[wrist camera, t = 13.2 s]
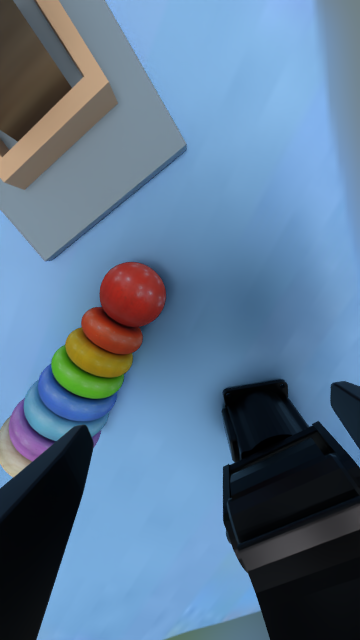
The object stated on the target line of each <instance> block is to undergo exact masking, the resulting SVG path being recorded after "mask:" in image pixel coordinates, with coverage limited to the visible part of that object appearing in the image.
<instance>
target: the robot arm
mask: <svg viewBox="0 0 360 640" xmlns="http://www.w3.org/2000/svg"><path fill="white" fill-rule="evenodd" d="M281 384H283V385H282V386H280V385H281ZM227 393H230V394H229V395H226V394H227ZM223 397H224V403H225V408H223V409H222V416H223V422H224V428H225V432H226V436H227V440H228V444H229V448H230V452H231V456H232V460H233V461H234V462H235V463H233V464H231V465H229V464H228V465H226V466H224V467H223V522H224V525H225V528H226V536H227V539H228V541H229V543H230V544H232V547H233V549H234V552H235V554H236V556H237V558H238V560H239V562H240V564H241V565H242V567H243V568H244V570H245V571H246V572H247V573H248V574H249V577H250V579H251V582H252V585H253V587H254V590H255V593H256V596H257V599H258V602H259V605H260V608H261V611H262V614H263V618H264V621H265V624H266V627H267V631H268V634H269V637H270V640H360V468H359V466H358V465H357V464H356V463H355V461H354V460H353V459H352V458H351V457H350V455H349V454H348V453H347V452H346V451H345V450H344V449H343V448H342V446H341V445H340V444H339V443H338V442H337V441H336V440H335V439H334V438H333V437H332V435H331V434H330V433H329V432H328V431H327V430H326V429H325V428H324V427H323V425H322V424H321V423H320V422H319V421H317V422H315V423H313V424H312V426H310V427H309V426H308V425H307V423H306V422H305V420H304V419H303V418H302V416H301V415H300V414H299V412H298V411H297V409H296V408H295V407H294V405H293V404H292V402H291V401H290V400H289V398H288V385H287V383H286V382H285V381H284V380H276V381H270V382H264V383H258V384H252V385H246V386H241V387H235V388H229V389H225V390H224V391H223ZM330 401H331V406H332V408H333V410H334V412H335V413H336V415H337V416H338V418H339V419H340V421H341V422H342V424H343V425H344V427H345V428H346V430H347V431H348V433H349V434H350V436H351V437H352V439H353V440H354V442H355V443H356V445H357V446H358V448H359V449H360V386H357V385H354V384H352V383H349V382H346V381H341V382H335V383H332V384H331V400H330ZM93 447H94V442H93V439H92V436H91V434H90V432H89V429H88V427H87V426H86V425H78V426H74V427H73V428H71V429H70V430H69V431H68V432H67V433H66V434H64V435H63V436H62V437H61V438H60V439H58V440H57V441H56V442H55V443H54V444H52V445H51V446H50V447H49V448H48V449H47V450H45V451H44V452H43V453H42V454H41V455H39V456H38V457H37V458H36V459H35V460H34V461H32V462H31V463H30V464H29V465H28V466H26V467H25V468H24V469H23V470H22V471H20V472H19V473H18V474H17V475H16V476H15V477H13V478H12V479H11V480H10V481H9V482H7V483H6V484H5V485H4V486H3V487H2V488H0V640H36V639H37V636H38V633H39V630H40V627H41V623H42V620H43V617H44V614H45V611H46V608H47V605H48V602H49V598H50V595H51V592H52V589H53V586H54V583H55V580H56V577H57V573H58V570H59V567H60V564H61V561H62V558H63V555H64V552H65V548H66V545H67V542H68V539H69V536H70V533H71V530H72V527H73V523H74V520H75V517H76V514H77V511H78V508H79V505H80V502H81V498H82V495H83V491H84V487H85V483H86V479H87V474H88V470H89V465H90V461H91V456H92V452H93Z"/></svg>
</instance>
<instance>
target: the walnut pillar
mask: <svg viewBox="0 0 360 640" xmlns="http://www.w3.org/2000/svg"><path fill="white" fill-rule="evenodd" d="M71 89H72V87H71V86H70V84H69V83H68V81H67V80H66V78H65V77H64V75H63V74H62V72H61V71H60V69H59V68H58V66H57V65H56V63H55V62H54V61H53V59H52V58H51V56H50V55H49V53H48V52H47V50H46V49H45V47H44V46H43V44H42V43H41V41H40V40H39V38H38V37H37V35H36V34H35V32H34V31H33V29H32V28H31V26H30V25H29V23H28V22H27V20H26V19H25V17H24V16H23V14H22V13H21V11H20V10H19V9H18V7H17V6H16V4H15V3H14V1H13V0H0V130H1V131H2V132H4V133H5V134H7V135H8V136H10V137H12V138H13V139H15V140H16V141H19V140H20V139H21V138H22V137H23V136H24V135H25V134H27V133H28V132H29V131H30V130H31V129H32V128H33V127H34V126H35V125H36V124H37V123H38V122H39V121H40V120H41V119H42V118H43V117H44V116H45V115H46V114H47V113H48V112H49V111H50V110H51V109H52V108H53V107H54V106H55V105H56V104H57V103H58V102H59V101H60V100H61V99H62V98H63V97H64V96H65V95H66V94H67V93H68V92H69V91H70V90H71Z"/></svg>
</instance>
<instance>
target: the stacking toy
mask: <svg viewBox="0 0 360 640" xmlns="http://www.w3.org/2000/svg"><path fill="white" fill-rule="evenodd" d="M165 300H166V290H165V286H164V283H163V281H162V279H161V278H160V276H159V275H158V274H157V273H156V272H155V271H154V270H152V269H151V268H150V267H148V266H146V265H144V264H141V263H136V262H127V263H122V264H119V265H117V266H115V267H114V268H112V269H111V270H110V271H109V272H108V273H107V274H106V275H105V277H104V279H103V281H102V284H101V287H100V302H101V305H102V307H95V308H92V309H90V310H88V311H87V312H86V313H85V314H84V315H83V317H82V322H81V325H82V327H81V328H78V329H76V330H74V331H72V332H71V333H70V334H69V336H68V338H67V340H66V344H65V345H64V346H62V347H60V348H59V349H58V350H57V351H56V352H55V354H54V356H53V358H52V362H51V364H50V365H49V366H47V367H46V368H45V369H44V371H43V372H42V373H41V375H40V378H39V380H38V381H36V382H35V383H34V384H33V385H32V386H31V387H30V389H29V390H28V392H27V394H26V396H25V398H24V399H23V400H22V401H21V402H20V403H19V404H18V405H17V406H16V407H15V409H14V411H13V413H12V415H11V416H10V417H9V418H8V419H7V420H6V421H5V423H4V424H3V426H2V427H1V429H0V464H1V466H2V467H3V469H4V470H5V471H6V472H7V473H8V474H9V475H10V476H12V477H15V476H16V475H17V474H18V473H19V472H20V471H22V470H23V469H24V468H25V467H26V466H28V465H29V464H30V463H31V462H32V461H34V460H35V459H36V458H37V457H38V456H39V455H41V454H42V453H43V452H44V451H45V450H47V449H48V448H49V447H50V446H51V445H52V444H54V443H55V442H56V441H57V440H58V439H60V438H61V437H62V436H63V435H64V434H66V433H67V432H68V431H69V430H70V429H71V428H73V427H74V426H78V425H86V426H87V427H88V429H89V432H90V434H91V436H92V439H93V442H94V446H95V445H96V443H97V442H98V440H99V437H100V434H101V429H102V428H103V427H104V425H105V423H106V421H107V419H108V415H109V411H110V410H111V409H112V407H113V406H114V404H115V401H116V398H117V391H118V390H119V388H120V387H121V385H122V383H123V380H124V373H126V372H127V371H128V370H129V369H130V367H131V365H132V362H133V355H132V353H133V352H135V351H136V350H137V349H138V348H139V347H140V346H141V344H142V340H143V335H142V332H141V330H140V328H139V327H140V326H144V325H147V324H149V323H150V322H152V321H153V320H155V319H156V318H157V317H158V316H159V314H160V313H161V311H162V309H163V307H164V305H165ZM93 448H94V447H93Z"/></svg>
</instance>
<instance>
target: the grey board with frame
mask: <svg viewBox="0 0 360 640" xmlns="http://www.w3.org/2000/svg"><path fill="white" fill-rule="evenodd" d="M13 1H14V3H15V4H16V6H17V7H18V9H19V10H20V11H21V13H22V14H23V16H24V17H25V19H26V20H27V22H28V23H29V25H30V26H31V28H32V29H33V31H34V32H35V34H36V35H37V37H38V38H39V40H40V41H41V43H42V44H43V46H44V47H45V49H46V50H47V52H48V53H49V55H50V56H51V58H52V59H53V61H54V62H55V63H56V65H57V66H58V68H59V69H60V71H61V72H62V74H63V75H64V77H65V78H66V80H67V81H68V83H69V84H70V86H71V87H72V89H71V90H70V91H69V92H68V93H67V94H66V95H65V96H64V97H63V98H62V99H61V100H60V101H59V102H58V103H57V104H56V105H55V106H54V107H53V108H52V109H51V110H50V111H49V112H48V113H47V114H46V115H45V116H44V117H43V118H42V119H41V120H40V121H39V122H38V123H37V124H36V125H35V126H34V127H33V128H32V129H31V130H30V131H29V132H28V133H27V134H25V135H24V136H23V137H22V138H21V139H20V140H19V141H16V140H15V139H13V138H12V137H10V136H8V135H7V134H5V133H4V132H2V131H1V130H0V210H1V211H2V212H3V213H4V214H5V216H6V217H7V218H8V219H9V220H10V221H11V223H12V224H13V225H14V226H15V227H16V228H17V230H18V231H19V232H20V233H21V234H22V235H23V237H24V238H25V239H26V240H27V241H28V242H29V244H30V245H31V246H32V247H33V248H34V249H35V251H36V252H37V253H38V254H39V255H40V256H41V258H42V259H43V260H44V261H52V260H53V259H54V258H55V257H57V256H58V255H59V254H60V253H61V252H63V251H64V250H65V249H66V248H68V247H69V246H70V245H71V244H72V243H74V242H75V241H76V240H77V239H78V238H80V237H81V236H82V235H83V234H85V233H86V232H87V231H88V230H89V229H91V228H92V227H93V226H94V225H96V224H97V223H98V222H99V221H100V220H102V219H103V218H104V217H105V216H106V215H108V214H109V213H110V212H111V211H113V210H114V209H115V208H116V207H117V206H119V205H120V204H121V203H122V202H124V201H125V200H126V199H127V198H128V197H130V196H131V195H132V194H133V193H135V192H136V191H137V190H138V189H139V188H141V187H142V186H143V185H144V184H145V183H147V182H148V181H149V180H150V179H152V178H153V177H154V176H155V175H156V174H158V173H159V172H160V171H161V170H163V169H164V168H165V167H166V166H167V165H169V164H170V163H171V162H172V161H173V160H175V159H176V158H177V157H178V156H180V155H181V154H182V153H183V152H184V151H186V145H187V144H186V142H185V140H184V139H183V137H182V135H181V133H180V132H179V130H178V128H177V126H176V125H175V123H174V121H173V119H172V118H171V116H170V114H169V112H168V111H167V109H166V107H165V105H164V103H163V102H162V100H161V98H160V96H159V95H158V93H157V91H156V89H155V88H154V86H153V84H152V82H151V81H150V79H149V77H148V75H147V74H146V72H145V70H144V68H143V67H142V65H141V63H140V61H139V60H138V58H137V56H136V54H135V52H134V51H133V49H132V47H131V45H130V44H129V42H128V40H127V38H126V37H125V35H124V33H123V31H122V30H121V28H120V26H119V24H118V23H117V21H116V19H115V17H114V16H113V14H112V12H111V10H110V8H109V7H108V5H107V3H106V1H105V0H13Z"/></svg>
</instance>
